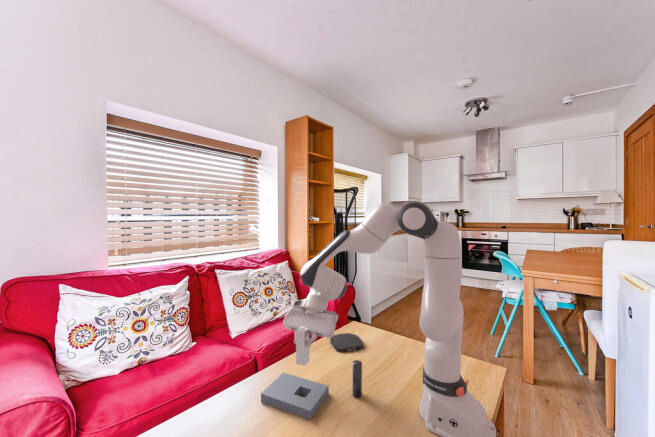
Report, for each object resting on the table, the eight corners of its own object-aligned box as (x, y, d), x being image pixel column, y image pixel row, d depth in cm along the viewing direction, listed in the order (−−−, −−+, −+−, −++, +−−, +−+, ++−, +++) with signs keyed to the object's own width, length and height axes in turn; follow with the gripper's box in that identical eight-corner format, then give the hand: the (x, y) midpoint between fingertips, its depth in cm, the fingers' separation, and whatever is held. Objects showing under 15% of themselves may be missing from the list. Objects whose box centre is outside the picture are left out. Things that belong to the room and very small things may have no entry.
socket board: (328, 393, 101) (328, 385, 101) (310, 420, 89) (310, 410, 89) (283, 379, 110) (283, 372, 110) (260, 401, 97) (260, 393, 97)
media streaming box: (353, 336, 148) (353, 331, 148) (365, 349, 134) (365, 343, 134) (328, 340, 144) (328, 335, 143) (337, 354, 130) (338, 348, 130)
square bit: (309, 361, 98) (309, 328, 98) (304, 365, 95) (304, 331, 95) (301, 358, 100) (300, 326, 100) (296, 363, 97) (296, 330, 97)
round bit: (363, 394, 101) (363, 362, 100) (357, 399, 98) (357, 366, 98) (356, 390, 103) (356, 359, 103) (350, 394, 101) (350, 362, 100)
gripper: (341, 316, 103) (331, 354, 95) (295, 308, 112) (281, 342, 103) (337, 308, 99) (325, 347, 90) (289, 300, 108) (274, 335, 99)
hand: (301, 344), depth 97 cm, fingers closed on square bit, 3 cm apart
